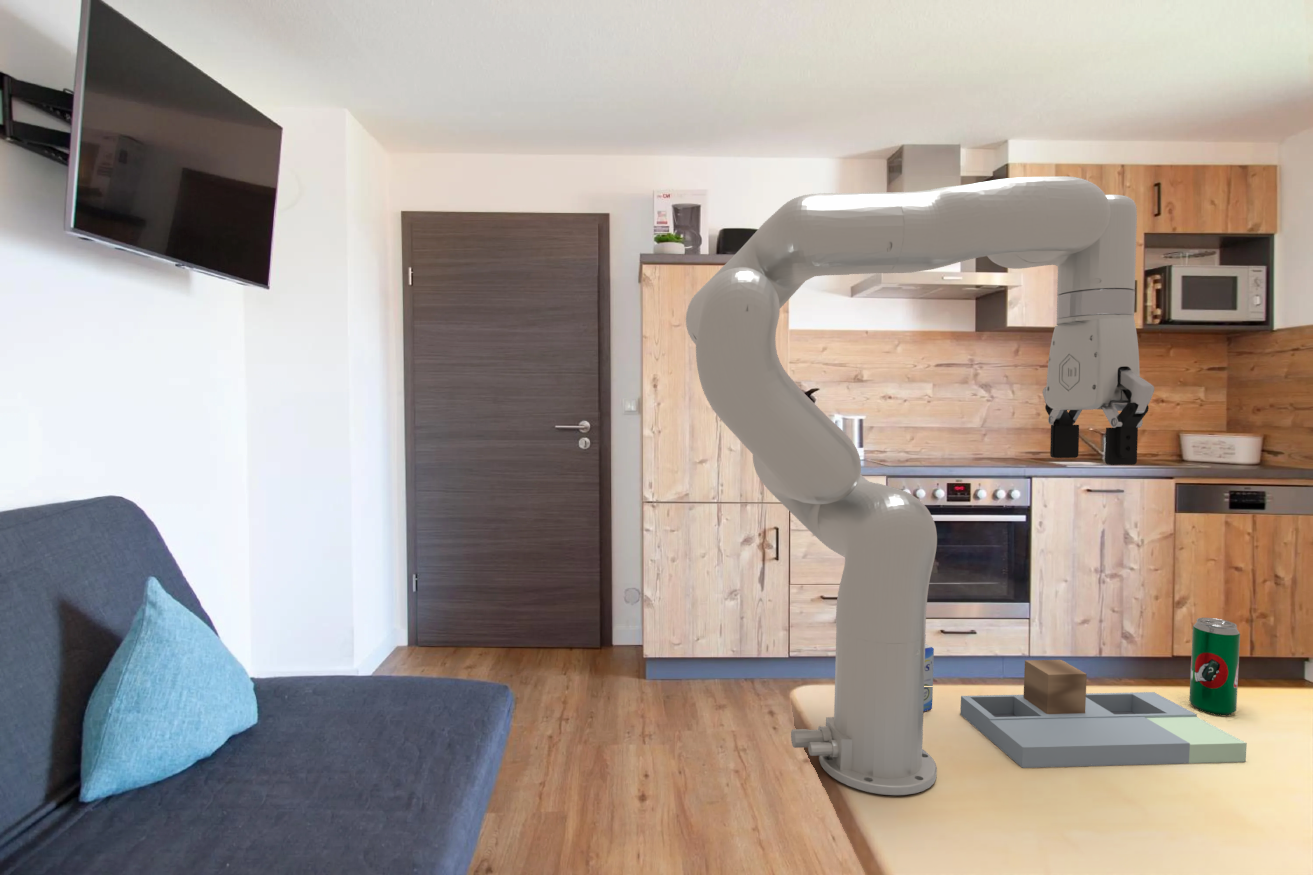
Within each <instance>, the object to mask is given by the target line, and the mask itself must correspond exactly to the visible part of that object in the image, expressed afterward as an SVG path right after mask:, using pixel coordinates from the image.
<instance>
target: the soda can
mask: <svg viewBox="0 0 1313 875" xmlns="http://www.w3.org/2000/svg"><path fill="white" fill-rule="evenodd" d="M1191 637H1192V638H1191V658H1190V659H1191V661H1190V679H1189V698H1188V699H1189V702H1190V704H1191V705H1192V706H1193V708H1195V709H1197V710H1199V711H1200V712H1203V713H1207V714H1210V715H1214V714H1215V715H1216V716H1222V715H1226V716H1231V715H1232V714H1234V713H1235V712H1236V711H1237V704H1238V702H1237V701H1238V683H1239V682H1238V681H1239V664H1240V647H1241V646H1240V645H1241V644H1240V643H1241V633H1240V631H1239V630H1238V625H1237V624H1236V623H1235V622H1232V621H1229V620H1225V619H1220V618H1215V617H1198V618H1196V622H1195V623H1194V624H1193V625H1192V634H1191Z"/></svg>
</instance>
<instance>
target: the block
mask: <svg viewBox="0 0 1313 875" xmlns="http://www.w3.org/2000/svg"><path fill="white" fill-rule="evenodd" d="M1023 674H1024V675H1023V676H1024V678H1023V695H1024V698H1025V699H1026V700H1027V701H1029V702H1030V703H1032V704H1033V705H1035V706H1036V707H1037V708H1039V709H1040V710H1042V711H1043V712H1045V713H1046V714H1077V713H1085V705H1086V693H1087V678H1088V675H1087V674H1088V673H1086V672H1084V671H1082V670H1080V669H1079V668H1077V667H1075V666H1074V665H1071V664H1069V663H1068V662H1066V661H1065V660H1062V659H1028V660H1026V659H1025V660H1024V673H1023Z"/></svg>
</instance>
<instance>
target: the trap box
mask: <svg viewBox="0 0 1313 875" xmlns="http://www.w3.org/2000/svg"><path fill="white" fill-rule="evenodd" d="M960 715H961V716H962V717H963V719H965V720H966V721H968V722H969V723H970V724H971V725H972V726H974V728H975V729H977V731H979V732H980V733H981V734H982V735H984V736H985V737H986V738H987V739H988V740H989V741H991V743H993V744H994V745H995V746H996V747H997V748H999V749H1000V750H1001V751H1002V752H1003V753H1005V754H1006V755H1007V756H1008V757H1009V758H1010V759H1011V760H1012V761H1014V762H1015V763H1016V764H1017V765H1018V766H1019V767H1020V768H1023V769H1027V768H1028V769H1029V768H1030V769H1031V768H1063V767H1065V768H1066V767H1096V766H1097V767H1100V766H1103V767H1104V766H1105V767H1106V766H1134V765H1136V766H1137V765H1143V766H1144V765H1173V764H1174V765H1177V764H1207V763H1208V764H1211V763H1213V764H1214V763H1216V764H1217V763H1245V762H1247V746H1248V745H1247V744H1248V743H1247V742H1245V741H1244V740H1241V739H1239V738H1237V737H1236V736H1235V735H1232V734H1230V733H1229V732H1226V731H1224V730H1223V729H1220V728H1219V727H1217V726H1216V725H1214V724H1211V723H1209V722H1208V721H1206V720H1204V719H1203V718H1201V717H1198V714H1196V713H1195V712H1194V711H1191V710H1189V709H1187V708H1185V707H1183V706H1182V705H1179V704H1177V703H1176V702H1173V701H1172V700H1170V699H1168V698H1166V697H1164V696H1162V695H1160V694H1159V693H1157V692H1155V691H1148V692H1147V691H1143V692H1139V691H1137V692H1099V693H1098V692H1097V693H1095V692H1093V693H1091V692H1090V693H1087V692H1086V705H1085V713H1077V714H1046V713H1045V712H1043V711H1042V710H1040V709H1039V708H1037V707H1036V706H1035V705H1033V704H1032V703H1030V702H1029V701H1027V700H1026V699H1025V698H1024V694H999V695H998V694H991V695H988V694H987V695H979V694H978V695H960Z"/></svg>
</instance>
